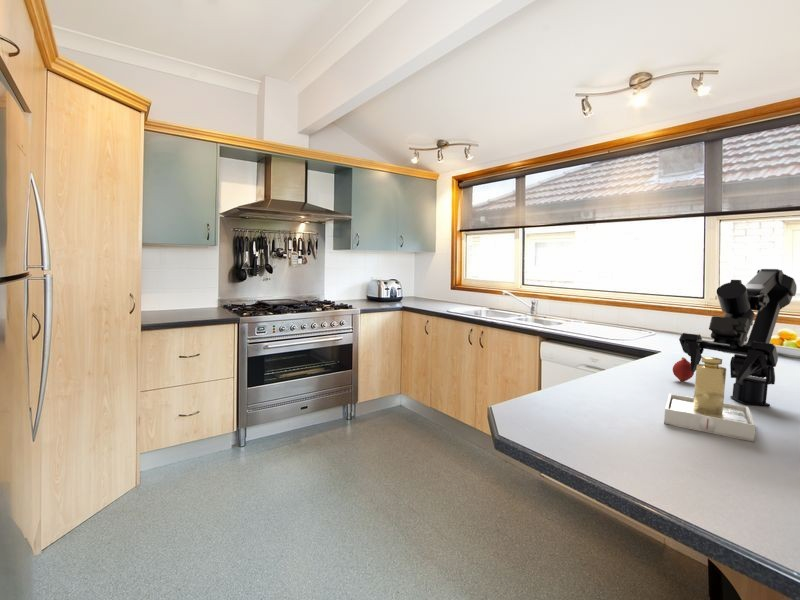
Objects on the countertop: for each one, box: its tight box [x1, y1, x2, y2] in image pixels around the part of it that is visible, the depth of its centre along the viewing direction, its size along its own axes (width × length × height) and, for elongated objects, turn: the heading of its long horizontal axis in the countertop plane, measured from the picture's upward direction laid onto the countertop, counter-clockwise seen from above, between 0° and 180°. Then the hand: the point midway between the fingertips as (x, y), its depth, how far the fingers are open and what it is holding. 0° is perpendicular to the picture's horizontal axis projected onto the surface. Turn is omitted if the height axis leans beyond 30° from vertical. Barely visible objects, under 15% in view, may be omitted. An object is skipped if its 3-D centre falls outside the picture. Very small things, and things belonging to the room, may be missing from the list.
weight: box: [693, 356, 727, 415], centre depth 100 cm, size 6×6×12 cm
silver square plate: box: [671, 398, 747, 423], centre depth 100 cm, size 14×14×1 cm
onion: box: [672, 356, 695, 383], centre depth 139 cm, size 6×6×8 cm
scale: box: [663, 393, 756, 442], centre depth 100 cm, size 16×16×4 cm
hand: (714, 375), depth 101 cm, fingers open, 9 cm apart
